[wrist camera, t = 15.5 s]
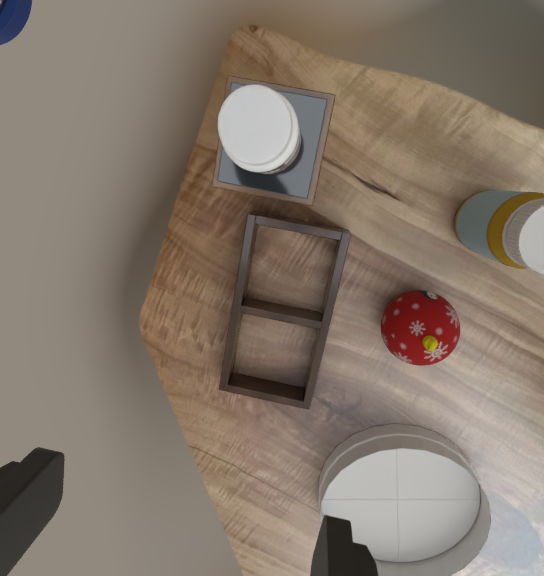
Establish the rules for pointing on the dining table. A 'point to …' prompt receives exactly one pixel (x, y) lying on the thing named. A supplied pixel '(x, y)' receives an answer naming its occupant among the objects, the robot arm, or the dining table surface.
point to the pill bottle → (259, 129)
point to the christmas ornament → (420, 328)
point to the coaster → (301, 169)
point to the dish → (407, 499)
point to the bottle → (504, 227)
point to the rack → (281, 314)
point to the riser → (320, 150)
